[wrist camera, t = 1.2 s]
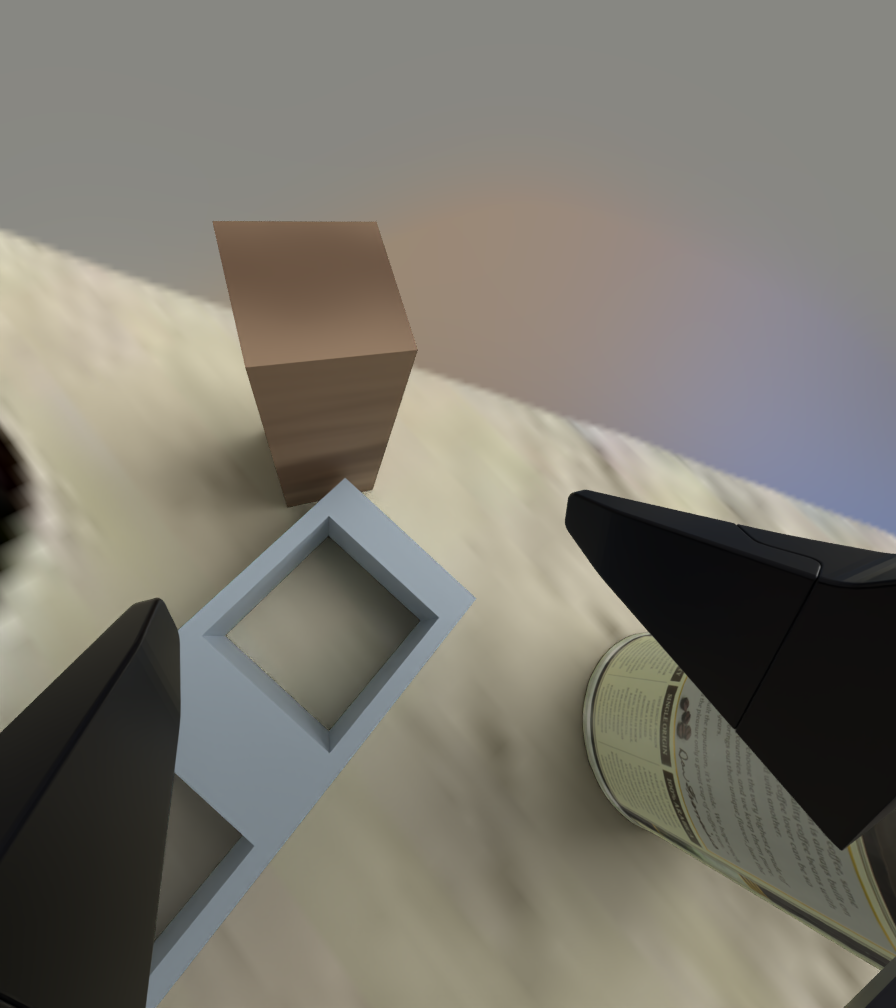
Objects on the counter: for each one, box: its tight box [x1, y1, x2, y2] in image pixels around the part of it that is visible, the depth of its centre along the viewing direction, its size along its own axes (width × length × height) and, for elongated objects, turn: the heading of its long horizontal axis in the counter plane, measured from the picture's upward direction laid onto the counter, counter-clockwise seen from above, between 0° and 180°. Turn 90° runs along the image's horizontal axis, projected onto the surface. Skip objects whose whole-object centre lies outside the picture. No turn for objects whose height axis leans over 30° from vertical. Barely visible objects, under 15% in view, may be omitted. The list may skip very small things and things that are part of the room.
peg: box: [213, 221, 418, 507], centre depth 17 cm, size 4×4×12 cm
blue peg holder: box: [146, 478, 476, 1008], centre depth 17 cm, size 22×8×4 cm, turn 140°
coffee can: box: [583, 633, 896, 970], centre depth 18 cm, size 10×10×14 cm
